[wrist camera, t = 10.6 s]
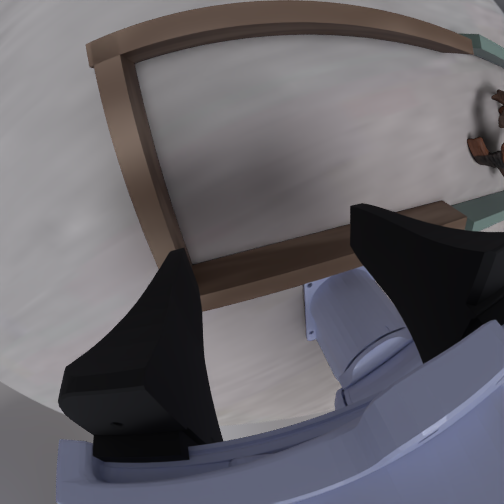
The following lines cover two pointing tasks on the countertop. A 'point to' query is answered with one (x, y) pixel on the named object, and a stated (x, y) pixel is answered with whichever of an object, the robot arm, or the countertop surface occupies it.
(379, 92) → the countertop surface
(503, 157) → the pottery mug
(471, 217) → the frame
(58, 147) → the countertop surface
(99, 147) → the countertop surface
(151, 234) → the brown wooden frame
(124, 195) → the countertop surface
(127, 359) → the robot arm
